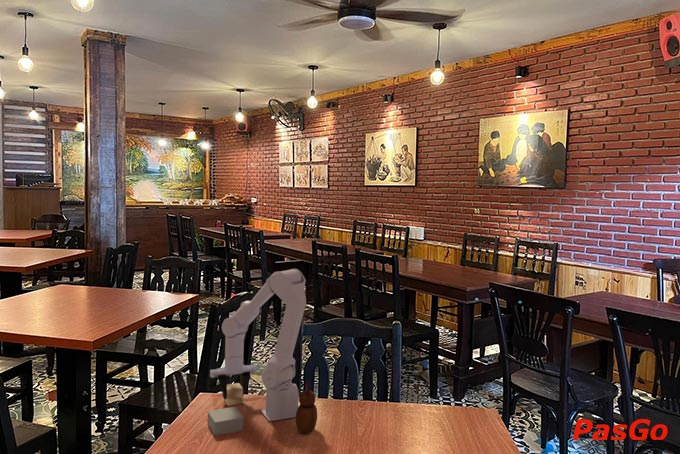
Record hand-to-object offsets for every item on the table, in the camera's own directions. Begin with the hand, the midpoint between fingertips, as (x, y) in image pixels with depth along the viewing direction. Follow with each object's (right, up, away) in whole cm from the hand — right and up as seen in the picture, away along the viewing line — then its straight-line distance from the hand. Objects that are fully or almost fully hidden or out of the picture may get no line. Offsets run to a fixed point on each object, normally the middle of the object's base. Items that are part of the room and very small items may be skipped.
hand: (233, 396), depth 162 cm
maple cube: (0, -2, 0) cm, 2 cm away
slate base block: (+1, -3, -17) cm, 18 cm away
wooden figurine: (+24, -4, -18) cm, 30 cm away
